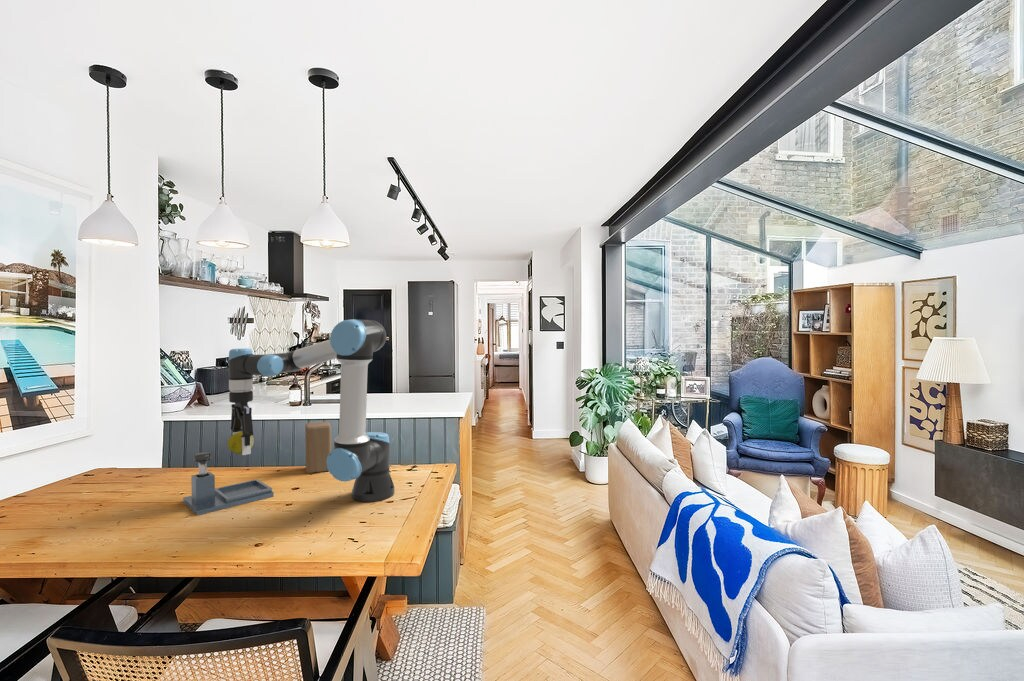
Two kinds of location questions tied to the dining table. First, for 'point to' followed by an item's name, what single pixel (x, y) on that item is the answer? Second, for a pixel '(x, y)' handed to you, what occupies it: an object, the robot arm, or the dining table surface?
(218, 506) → the base
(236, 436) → the lemon
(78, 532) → the dining table surface
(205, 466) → the ball
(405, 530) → the dining table surface
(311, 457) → the wooden block
